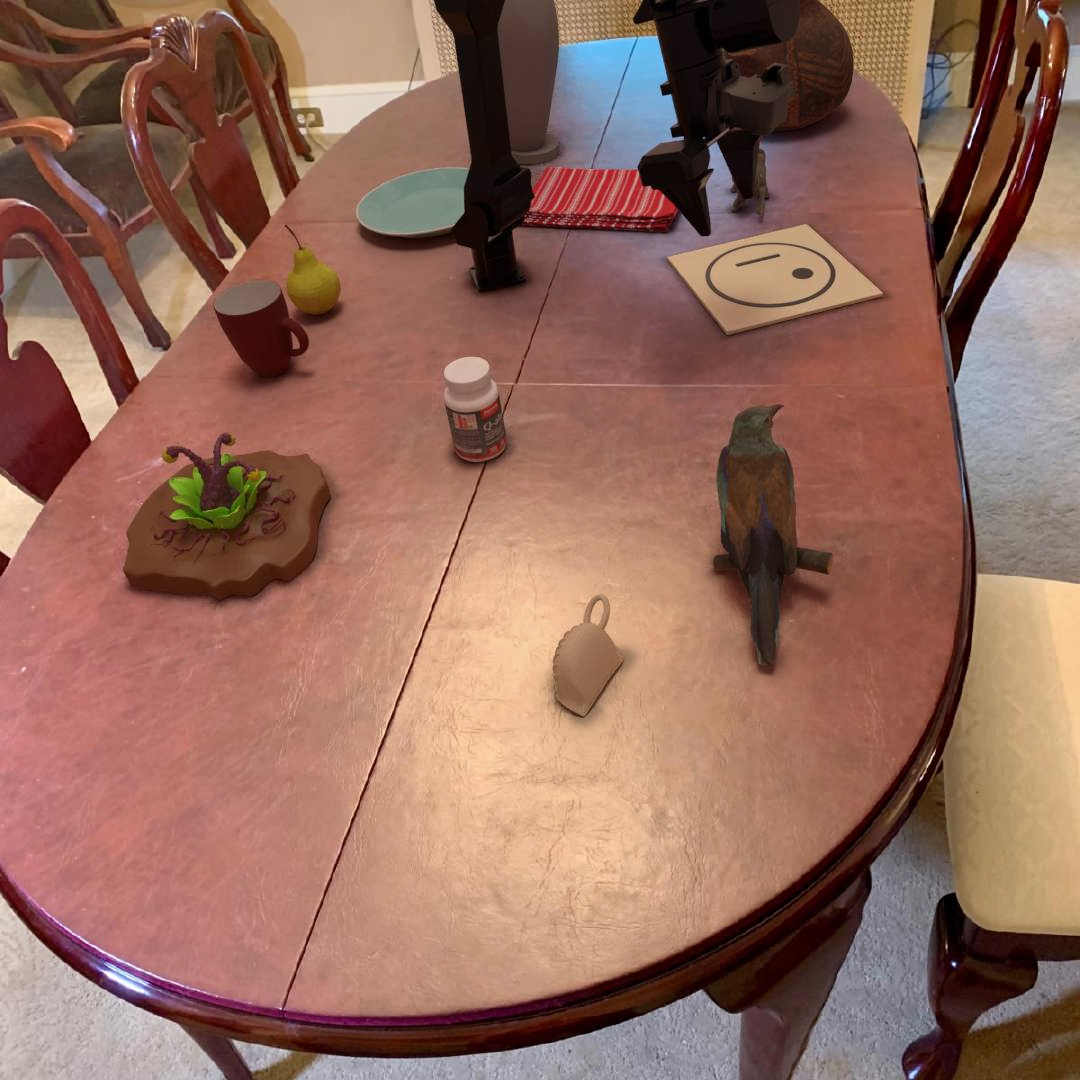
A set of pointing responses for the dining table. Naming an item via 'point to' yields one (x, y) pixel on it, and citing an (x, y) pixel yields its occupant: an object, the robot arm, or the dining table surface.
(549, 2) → the vase
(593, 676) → the decorative ornament
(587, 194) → the dish towel
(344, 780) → the dining table surface
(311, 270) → the fruit
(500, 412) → the pill bottle
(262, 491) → the plant
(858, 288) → the board
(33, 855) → the dining table surface
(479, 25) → the robot arm
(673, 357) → the dining table surface
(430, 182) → the plate
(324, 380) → the dining table surface
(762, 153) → the dog figurine
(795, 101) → the jug
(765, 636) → the bird figurine
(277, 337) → the mug
